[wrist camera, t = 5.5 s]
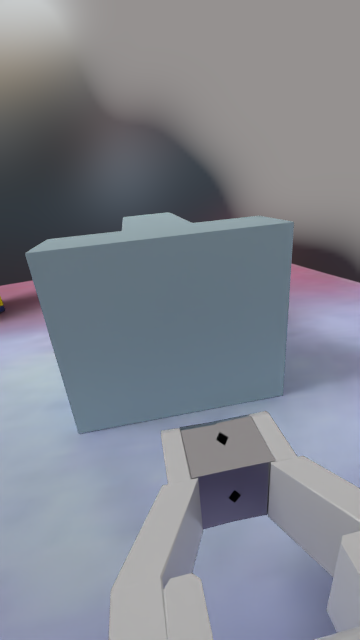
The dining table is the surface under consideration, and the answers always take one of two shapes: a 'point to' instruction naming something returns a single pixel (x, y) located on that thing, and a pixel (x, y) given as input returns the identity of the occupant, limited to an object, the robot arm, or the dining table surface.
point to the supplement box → (1, 306)
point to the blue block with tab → (166, 315)
